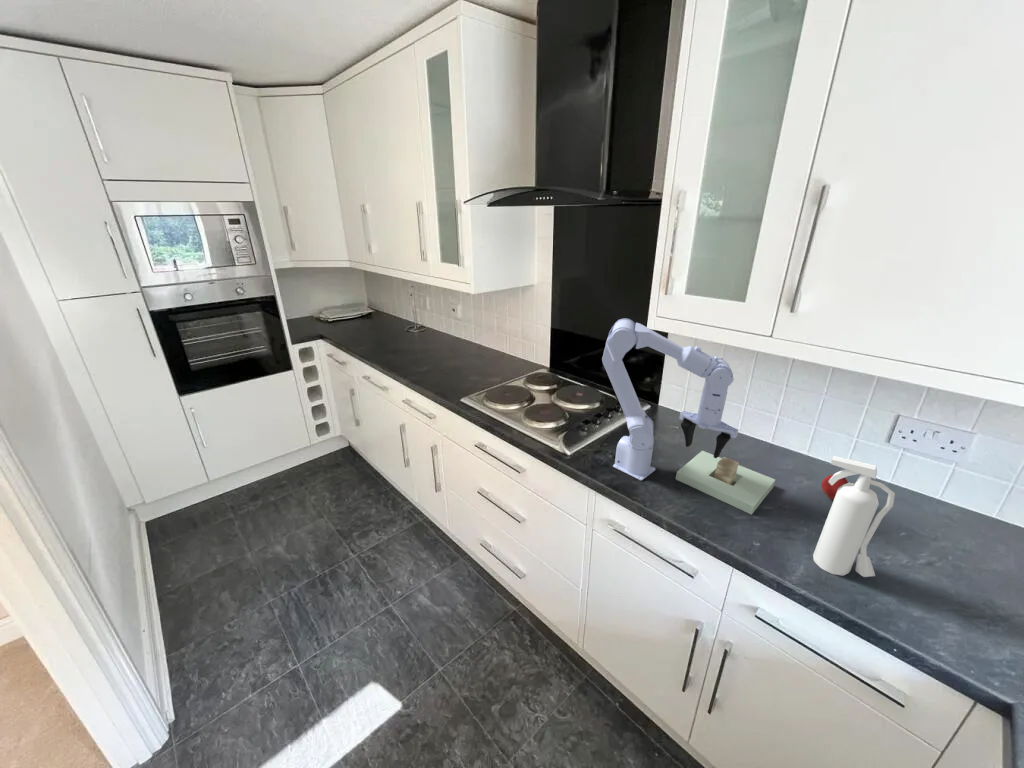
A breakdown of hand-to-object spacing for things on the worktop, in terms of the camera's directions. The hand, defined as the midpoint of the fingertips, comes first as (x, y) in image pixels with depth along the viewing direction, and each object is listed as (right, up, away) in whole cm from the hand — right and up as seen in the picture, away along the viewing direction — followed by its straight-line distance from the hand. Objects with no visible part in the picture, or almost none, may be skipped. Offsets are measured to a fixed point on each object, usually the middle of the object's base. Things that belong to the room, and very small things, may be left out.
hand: (702, 450), depth 114 cm
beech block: (+7, -9, +2) cm, 12 cm away
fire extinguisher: (+18, -21, -24) cm, 36 cm away
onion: (+32, -12, -3) cm, 35 cm away
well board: (+7, -9, +2) cm, 12 cm away
